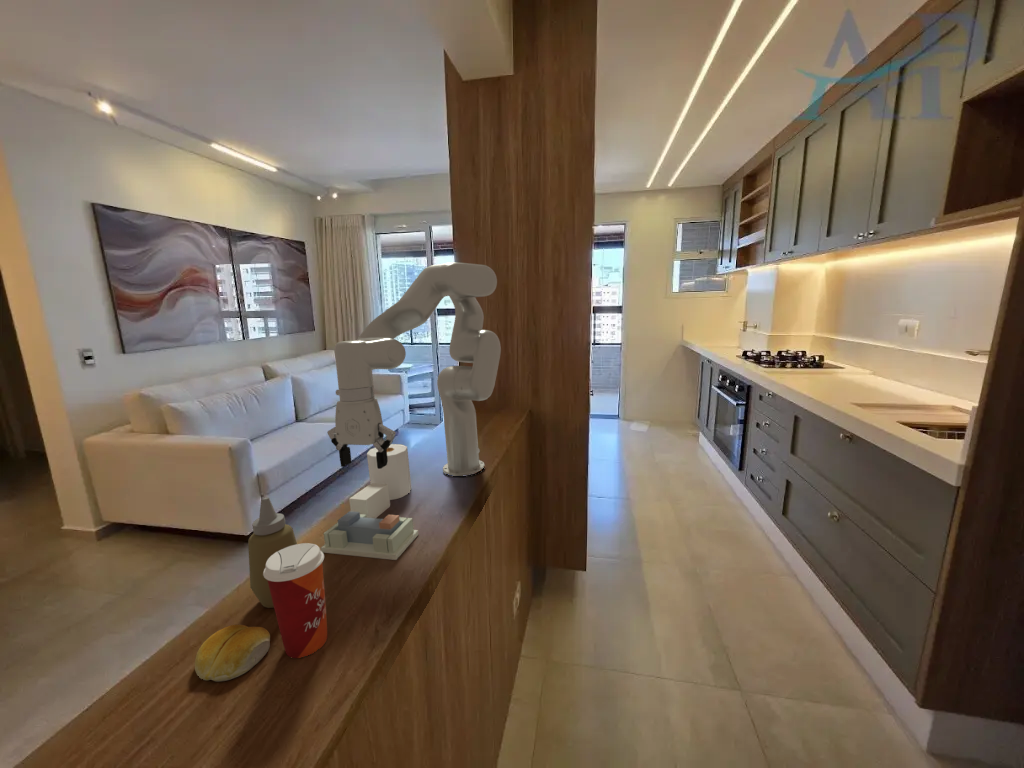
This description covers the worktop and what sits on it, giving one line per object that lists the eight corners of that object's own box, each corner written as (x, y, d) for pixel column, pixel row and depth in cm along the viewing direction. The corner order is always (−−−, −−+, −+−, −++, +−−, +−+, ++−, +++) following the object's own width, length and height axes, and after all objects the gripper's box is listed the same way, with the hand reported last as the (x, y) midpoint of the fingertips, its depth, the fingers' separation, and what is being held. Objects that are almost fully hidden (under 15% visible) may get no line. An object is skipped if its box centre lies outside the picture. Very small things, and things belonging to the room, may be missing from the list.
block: (374, 505, 105) (372, 482, 104) (390, 506, 104) (387, 483, 103) (352, 522, 97) (349, 498, 96) (368, 524, 96) (365, 499, 95)
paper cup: (331, 656, 58) (318, 564, 56) (270, 671, 56) (254, 577, 54) (338, 618, 66) (326, 536, 63) (284, 630, 63) (270, 546, 61)
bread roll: (233, 633, 64) (228, 610, 63) (281, 641, 62) (277, 617, 61) (179, 679, 56) (173, 653, 55) (232, 690, 54) (227, 663, 53)
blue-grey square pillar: (351, 531, 90) (349, 511, 90) (401, 535, 87) (399, 514, 87) (340, 541, 87) (337, 520, 86) (392, 545, 84) (389, 524, 83)
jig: (349, 528, 94) (347, 512, 93) (418, 534, 90) (416, 517, 89) (321, 552, 85) (318, 534, 84) (396, 560, 80) (394, 541, 80)
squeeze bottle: (284, 616, 67) (267, 511, 64) (242, 611, 68) (223, 509, 65) (317, 583, 74) (303, 489, 71) (278, 580, 76) (263, 487, 73)
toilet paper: (387, 483, 119) (382, 442, 117) (418, 486, 115) (414, 444, 113) (363, 498, 109) (358, 454, 107) (397, 502, 106) (392, 457, 104)
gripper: (313, 397, 94) (322, 469, 96) (381, 397, 90) (388, 473, 92) (335, 391, 101) (342, 459, 104) (399, 391, 97) (405, 462, 99)
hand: (364, 465), depth 98 cm, fingers open, 9 cm apart
